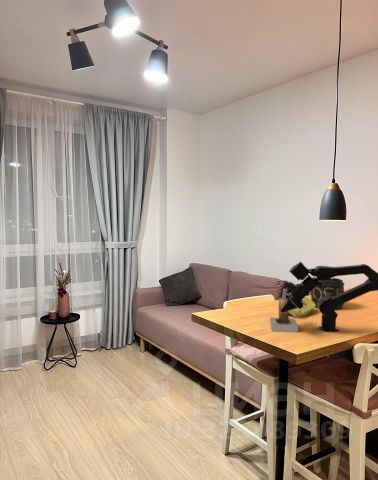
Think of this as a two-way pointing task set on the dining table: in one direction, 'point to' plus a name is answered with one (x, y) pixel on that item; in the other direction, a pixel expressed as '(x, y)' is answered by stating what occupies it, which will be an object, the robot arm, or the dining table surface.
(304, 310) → the plastic component
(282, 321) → the walnut peg
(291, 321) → the hole plate
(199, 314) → the dining table surface
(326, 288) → the patterned black pot
